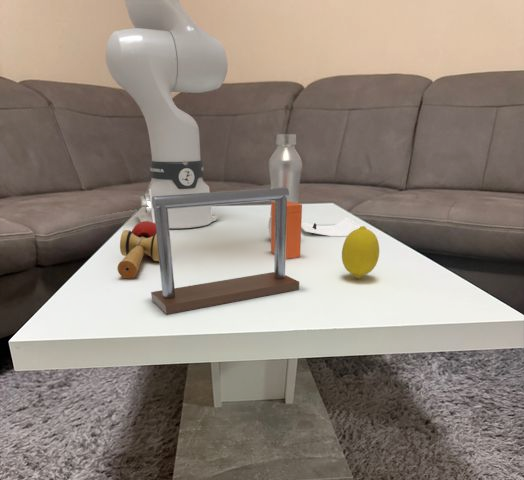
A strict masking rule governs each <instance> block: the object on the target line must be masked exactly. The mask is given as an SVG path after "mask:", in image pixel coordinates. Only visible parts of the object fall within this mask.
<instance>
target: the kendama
mask: <svg viewBox="0 0 524 480" xmlns="http://www.w3.org/2000/svg"><path fill="white" fill-rule="evenodd" d="M119 241H120V242H119V250H120V254H121V256H124V258H123V259H121V261H120V262H119V263H118V265H117V272H118V274H119V275H120V276H121V277H122V278H123V279H129V280H130V279H131V280H132V279H133V278H135V277H136V276H137V274H138V270H139V268H140V265H141V263H142V260H143V257H144V256H149V257H150V258H151V259H152V260H153V261H154V262H159V254H158V244H157V234H156V224H155V223H153V222H149V221H145V222H138V223H137V224H135V226H133V228H132V230H130V229H129V230H128V229H123V231H122V233H121V235H120V240H119Z"/></svg>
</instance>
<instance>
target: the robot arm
mask: <svg viewBox="0 0 524 480" xmlns="http://www.w3.org/2000/svg"><path fill="white" fill-rule="evenodd" d="M124 1H125V2H124V3H125V6H126V10H127V13H128V17H129V20H130V22H131V24H132V25H133V28H124V29H120V30H114V31H113V32H112V33H111V35H110V36H109V38H108V40H107V42H106V45H105V55H104V57H105V63H106V67H107V70H108V72H109V74H110V76H111V77H112V79H113V80H114V81H115V83H116V84H117V85H118V86H119V87H120V88H122V89H123V90H124V91H125V92H127V94H128V95H130V96H131V98H132V99H133V100H134V101H135V103H136V104H137V106H138V108H139V109H140V111H141V113H142V115H143V117H144V120H145V123H146V127H147V133H148V138H149V145H150V155H151V161H150V167H149V171H150V172H149V173H150V175H149V176H150V177H151V180H150V182H149V185H148V187H147V188H146V192H145V193H143V195H140V196H139V203H140V206H141V207H145V211H144V212H139V213H137V216H138V217H137V218H138V220H139V223H141V222H145V221H149V222H153V223H155V214H154V209H153V206H152V197H153V196H165V195H179V194H194V193H209V192H211V191H210V187H209V185H208V184H207V183H206V182H205V181H204V178H203V177H204V171H205V170H204V169H205V168H204V163H203V161H202V160H201V159H202V158H201V144H200V143H201V142H200V128H199V125H198V123H197V120H195V119H194V117H192V116H191V115H190V114H188V112H186V111H184V110H182V109H180V108H178V106H176V104H175V102H174V100H173V97H172V93H191V94H192V93H193V94H200V93H206V92H211V91H216V90H218V89H219V88H221V87H222V85H223V84H224V82H225V80H226V77H227V74H228V66H229V65H228V57H227V56H228V55H227V53H226V50H225V47H224V46H223V44H222V43H221V42H220V40H219V39H217V38H215V37H213V36H212V35H210V34H208V33H207V32H206V31H204V30H203V29H202V28H201V27H200V26H199V25H197V24H196V22H195V21H194V20H193V19H192V18H191V17H190V16H189V15H188V13H187V12H186V11H185V9H184V8H183V6H182V5H181V3H180V0H124ZM168 219H169V229H190V228H191V229H192V228H199V227H204V226H208V225H210V224H211V223H212V222H217V221H218V215H214V214H213V210H212V206H203V207H190V208H178V209H168Z"/></svg>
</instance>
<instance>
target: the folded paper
mask: <svg viewBox="0 0 524 480" xmlns="http://www.w3.org/2000/svg"><path fill="white" fill-rule="evenodd" d="M361 226H362V225H360V224H359V223H357V222H356V221H353V220H352V219H351V218H349V217H348V216H346V217H344V218H343V219H342V220H341V221H339V222H337V223H336V224H335V225H319V224H316V222H314V223H307V222H302V221H301V229H302V230H303V231H304V232H306V233H311V234H312V233H313V234H317V235H323V236H327V237H328V236H329V237H347V236H348V235H349V234H350V233H351V232H352V231H354V230H356V229H359V228H360V227H361Z"/></svg>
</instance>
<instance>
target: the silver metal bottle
mask: <svg viewBox="0 0 524 480" xmlns="http://www.w3.org/2000/svg"><path fill="white" fill-rule="evenodd" d="M275 138H276V140H275V145H276V148H275V150H274V152H273V153H272V155H271V156H270V158H269V161H268V164H267V165H268V174H269V182H270V188H283V187H286V188H288V190H289V197H288V199H287V201H289V202H294V203H298V204H299V196H300V195H299V193H300V183H301V177H302V170H303V161H302V158H301V156H300V154H299V153H298V151H297V150H296V145H297V134H296V133H276V137H275ZM272 202H275V201H270V210H271V209H272ZM269 213H270V216H269V220H268V227H267V230H268V235H269V236H270V237H271V212H269Z"/></svg>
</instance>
